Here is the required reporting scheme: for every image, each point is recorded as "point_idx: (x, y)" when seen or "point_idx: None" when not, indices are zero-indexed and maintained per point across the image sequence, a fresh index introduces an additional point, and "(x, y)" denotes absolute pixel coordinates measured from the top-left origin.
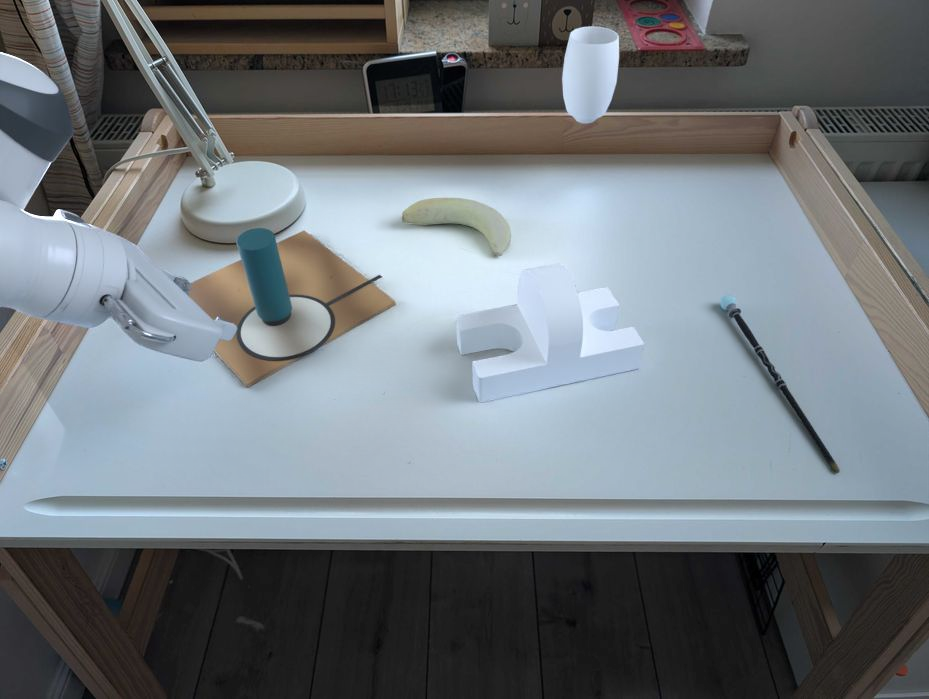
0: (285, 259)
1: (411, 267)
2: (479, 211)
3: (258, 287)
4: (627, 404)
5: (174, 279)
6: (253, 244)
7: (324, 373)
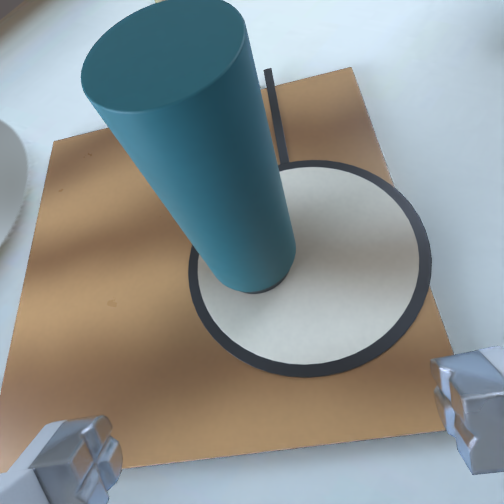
0: (99, 190)
1: (269, 37)
2: None
3: (260, 215)
4: None
5: (37, 481)
6: (193, 57)
7: (499, 237)
